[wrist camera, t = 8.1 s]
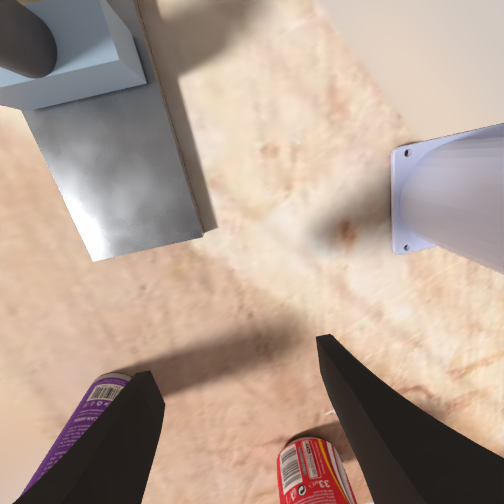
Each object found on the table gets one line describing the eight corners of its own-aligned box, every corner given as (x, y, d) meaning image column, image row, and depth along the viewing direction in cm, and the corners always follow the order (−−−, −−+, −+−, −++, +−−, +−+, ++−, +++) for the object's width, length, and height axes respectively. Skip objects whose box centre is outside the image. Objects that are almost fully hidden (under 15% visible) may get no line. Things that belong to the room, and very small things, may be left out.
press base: (86, -171, 12) (-13, -392, 7) (204, 233, 19) (194, 257, 14) (-78, -130, 12) (-285, -320, 7) (100, 256, 19) (55, 288, 14)
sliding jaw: (130, 31, 13) (-12, -144, 6) (146, 83, 14) (41, -8, 6) (3, 61, 13) (-306, -71, 6) (27, 111, 14) (-216, 54, 7)
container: (79, 392, 23) (-159, 750, 9) (113, 363, 22) (-95, 711, 8) (121, 417, 25) (-32, 761, 10) (153, 391, 24) (35, 729, 10)
